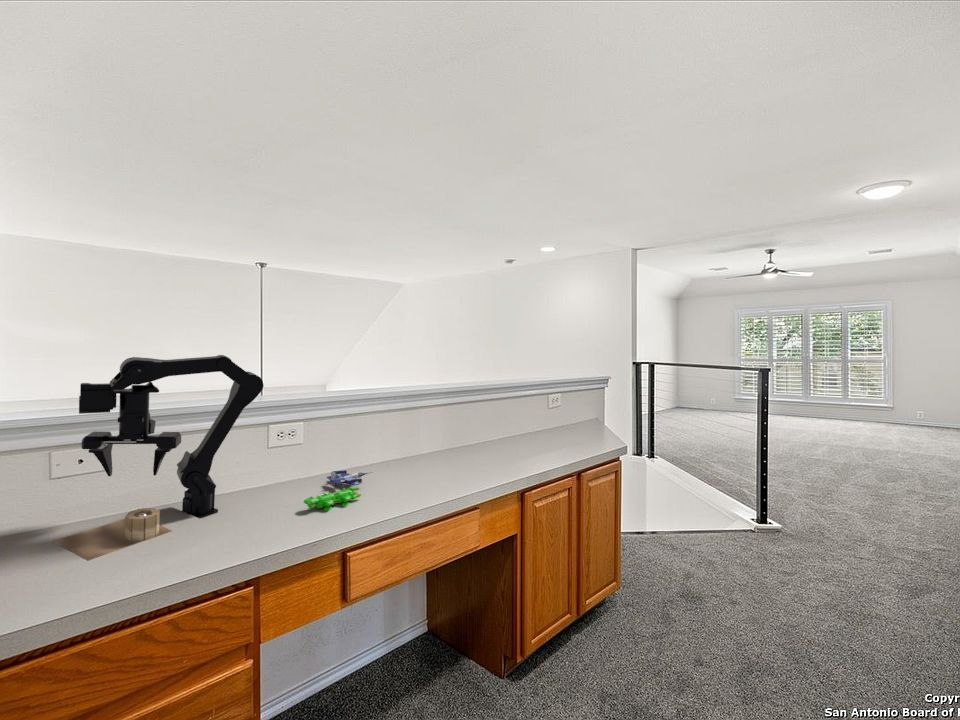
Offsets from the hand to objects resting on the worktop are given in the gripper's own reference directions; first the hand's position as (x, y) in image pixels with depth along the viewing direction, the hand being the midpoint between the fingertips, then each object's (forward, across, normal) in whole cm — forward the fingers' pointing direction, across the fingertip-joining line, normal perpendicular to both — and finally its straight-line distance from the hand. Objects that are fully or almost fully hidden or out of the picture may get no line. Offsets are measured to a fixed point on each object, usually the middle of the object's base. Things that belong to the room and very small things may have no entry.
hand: (132, 475), depth 118 cm
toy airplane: (+12, -52, -23) cm, 58 cm away
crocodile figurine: (+12, -47, -7) cm, 49 cm away
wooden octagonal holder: (+10, -5, +10) cm, 15 cm away
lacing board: (+12, 0, +10) cm, 15 cm away
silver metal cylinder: (+10, -5, +10) cm, 15 cm away
